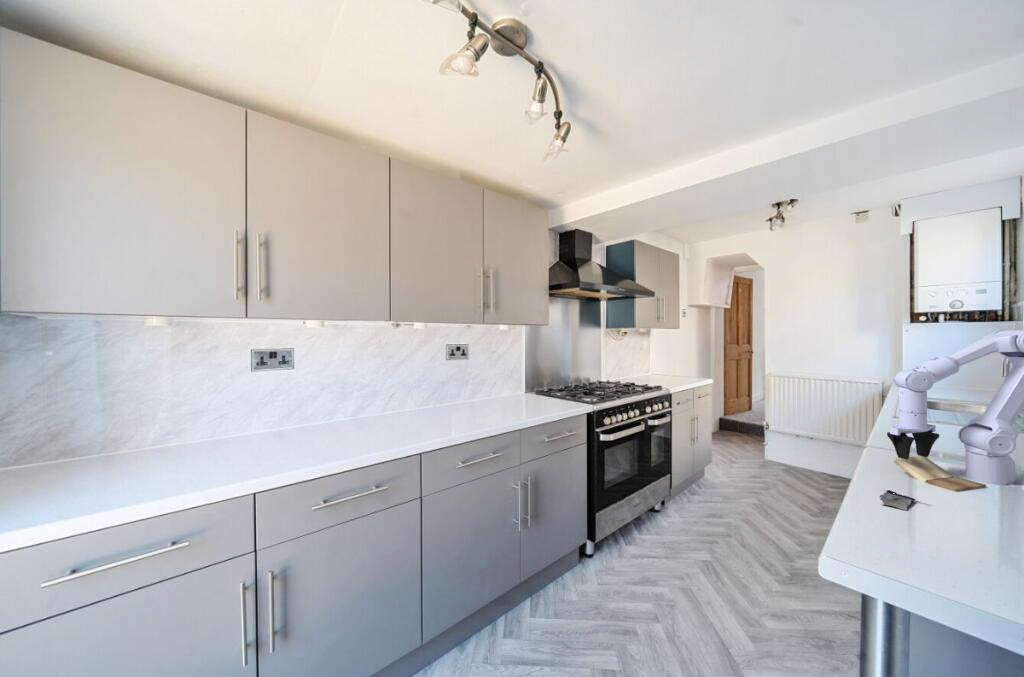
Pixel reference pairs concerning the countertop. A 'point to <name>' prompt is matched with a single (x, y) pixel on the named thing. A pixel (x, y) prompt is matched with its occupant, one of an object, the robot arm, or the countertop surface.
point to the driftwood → (896, 500)
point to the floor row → (956, 484)
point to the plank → (922, 468)
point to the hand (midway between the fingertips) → (912, 457)
